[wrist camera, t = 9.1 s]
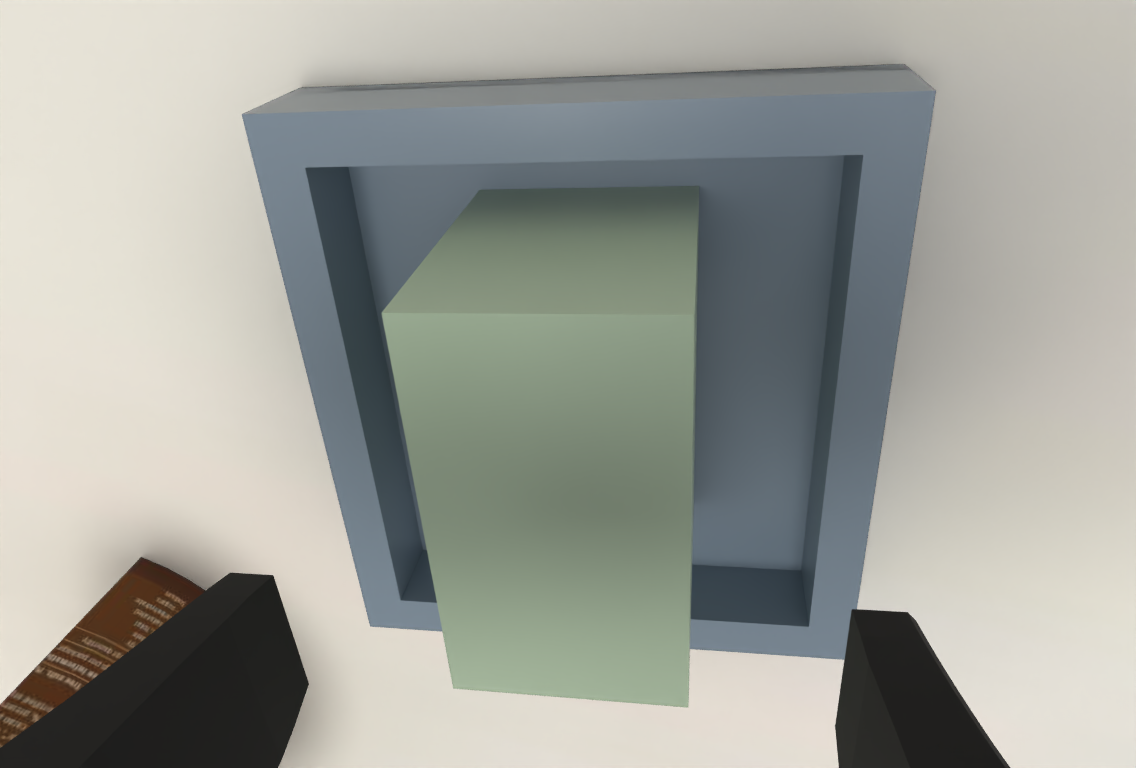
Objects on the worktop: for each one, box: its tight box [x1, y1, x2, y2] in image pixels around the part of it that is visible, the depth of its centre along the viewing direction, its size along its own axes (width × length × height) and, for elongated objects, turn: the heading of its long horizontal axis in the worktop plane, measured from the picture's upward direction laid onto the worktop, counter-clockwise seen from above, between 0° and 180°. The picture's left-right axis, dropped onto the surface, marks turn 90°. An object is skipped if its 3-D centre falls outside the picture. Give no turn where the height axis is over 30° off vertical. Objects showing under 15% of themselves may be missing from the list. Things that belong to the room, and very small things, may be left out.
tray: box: [242, 64, 936, 660], centre depth 18 cm, size 12×13×2 cm
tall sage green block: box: [382, 186, 699, 707], centre depth 16 cm, size 4×8×6 cm, turn 4°
